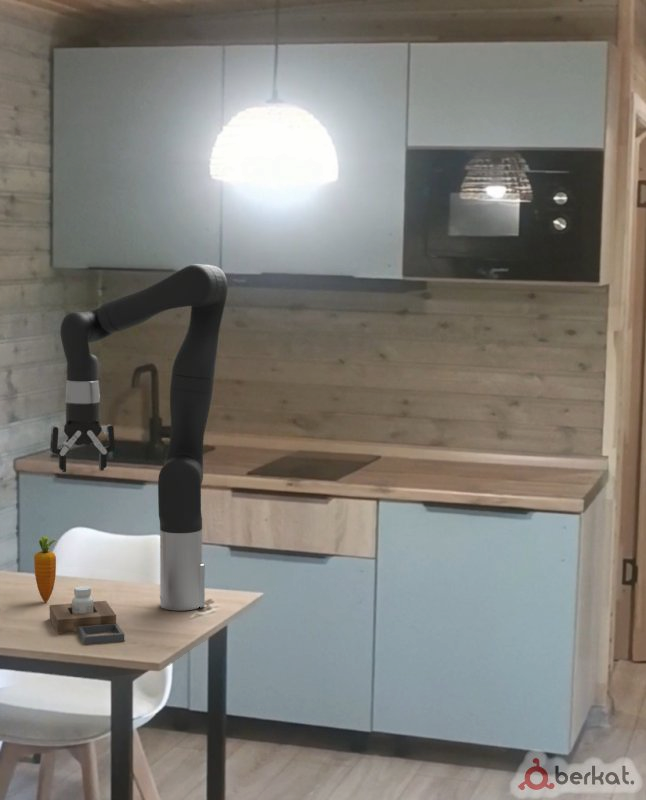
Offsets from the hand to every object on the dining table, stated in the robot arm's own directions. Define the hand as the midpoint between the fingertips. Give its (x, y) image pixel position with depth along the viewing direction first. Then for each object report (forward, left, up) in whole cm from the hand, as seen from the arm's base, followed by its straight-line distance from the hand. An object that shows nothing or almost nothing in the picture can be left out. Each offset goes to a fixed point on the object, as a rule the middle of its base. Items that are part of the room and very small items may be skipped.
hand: (82, 471), depth 302 cm
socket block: (+5, +27, -28) cm, 39 cm away
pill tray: (+3, +38, -28) cm, 47 cm away
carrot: (+10, +7, -28) cm, 31 cm away
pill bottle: (+4, +27, -28) cm, 39 cm away
